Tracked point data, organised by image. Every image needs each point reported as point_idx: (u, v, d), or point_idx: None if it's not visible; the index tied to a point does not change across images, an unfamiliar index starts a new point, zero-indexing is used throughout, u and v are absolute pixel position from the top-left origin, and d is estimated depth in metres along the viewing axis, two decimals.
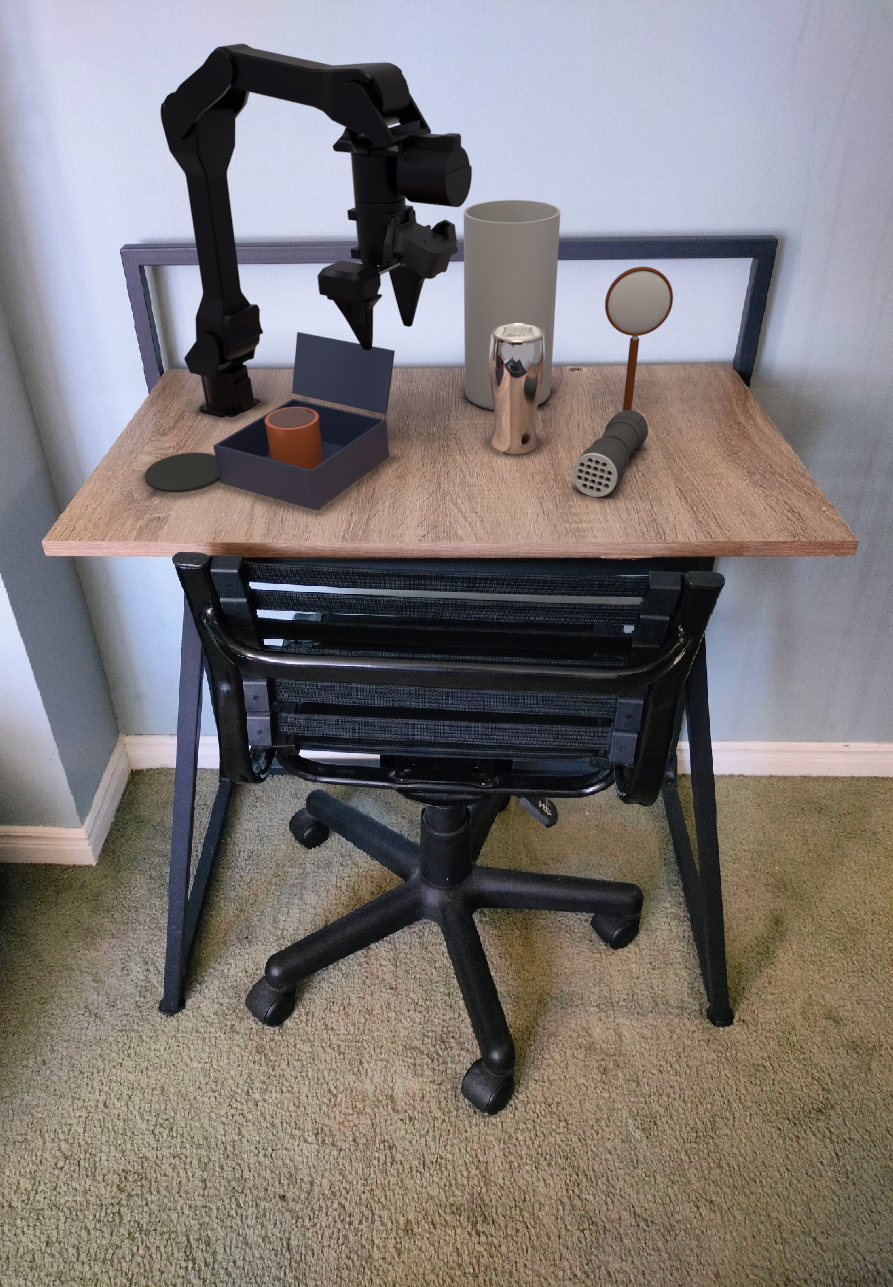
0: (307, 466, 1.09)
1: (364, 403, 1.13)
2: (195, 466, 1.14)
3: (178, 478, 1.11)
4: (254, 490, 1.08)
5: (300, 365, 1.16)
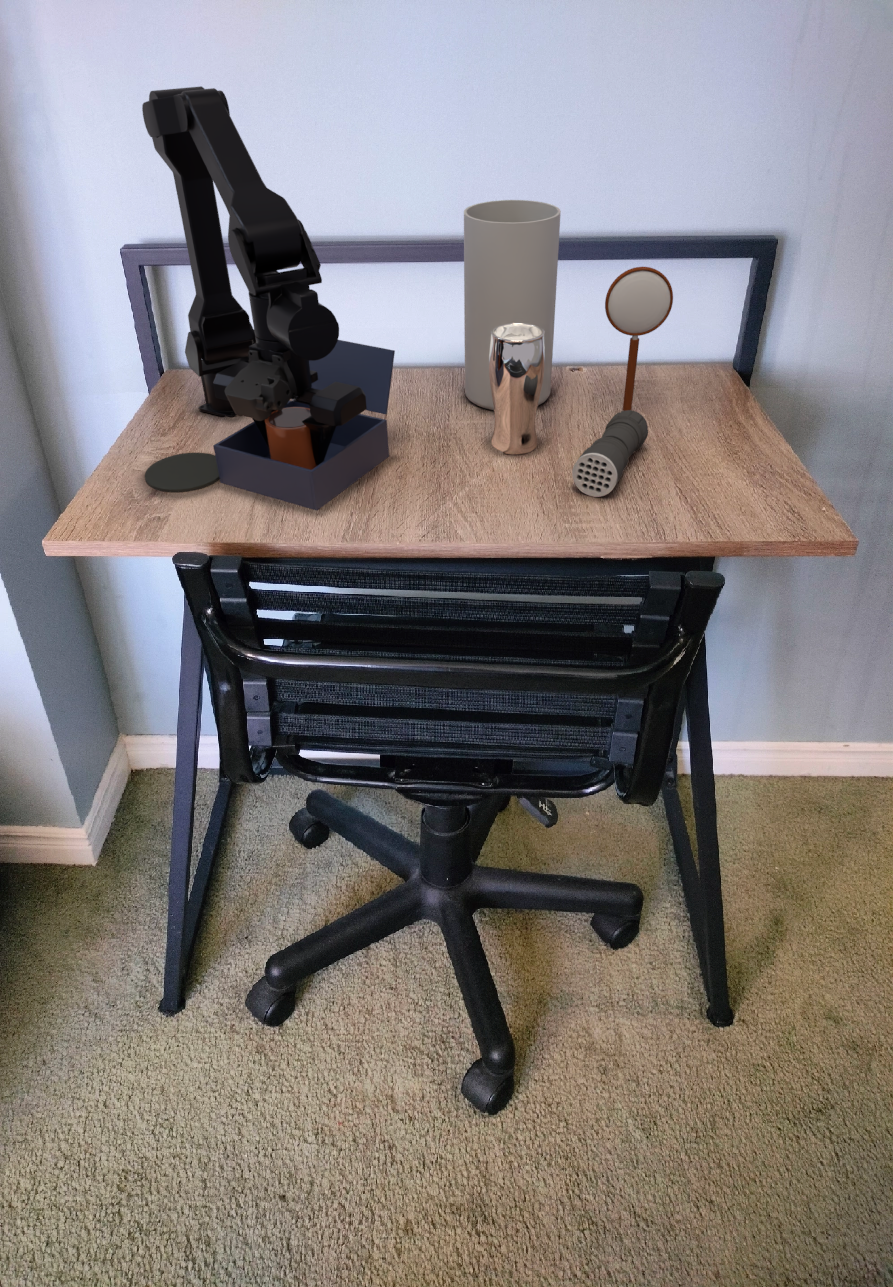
0: (307, 467, 1.09)
1: None
2: (195, 466, 1.14)
3: (178, 478, 1.11)
4: (254, 490, 1.08)
5: None
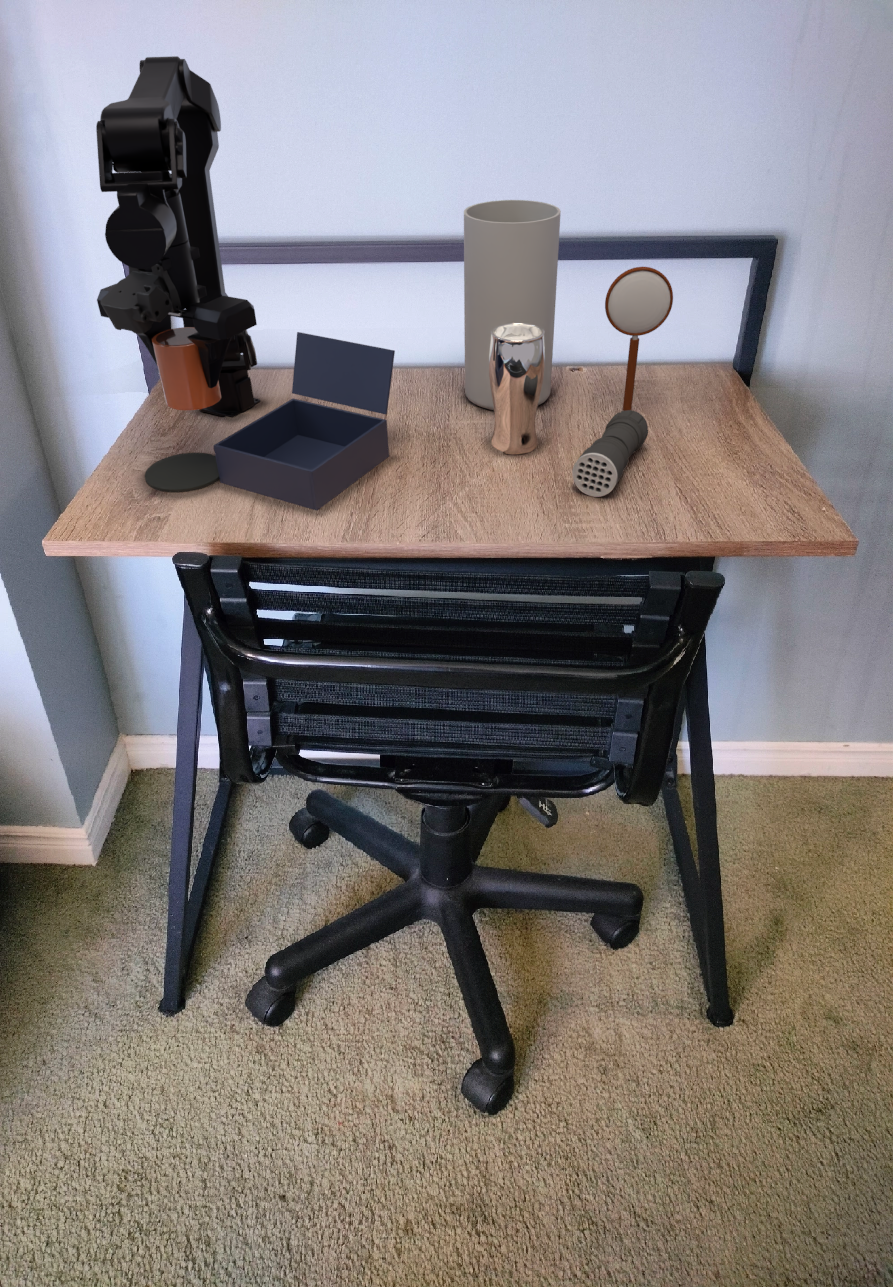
0: (198, 389, 1.03)
1: (364, 403, 1.13)
2: (195, 466, 1.14)
3: (178, 478, 1.11)
4: (254, 490, 1.08)
5: (300, 365, 1.16)
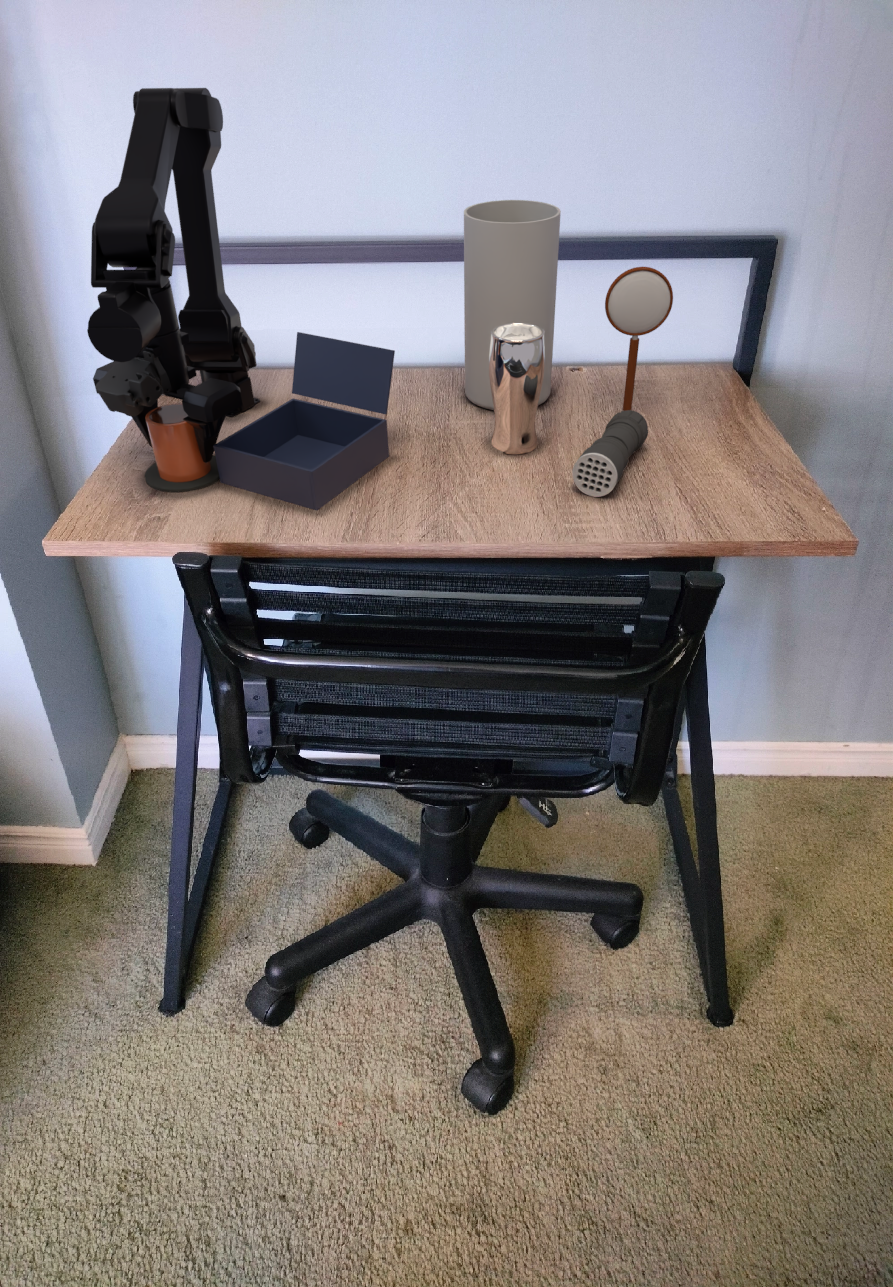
0: (189, 463, 1.09)
1: (364, 403, 1.13)
2: None
3: None
4: (254, 490, 1.08)
5: (300, 365, 1.16)
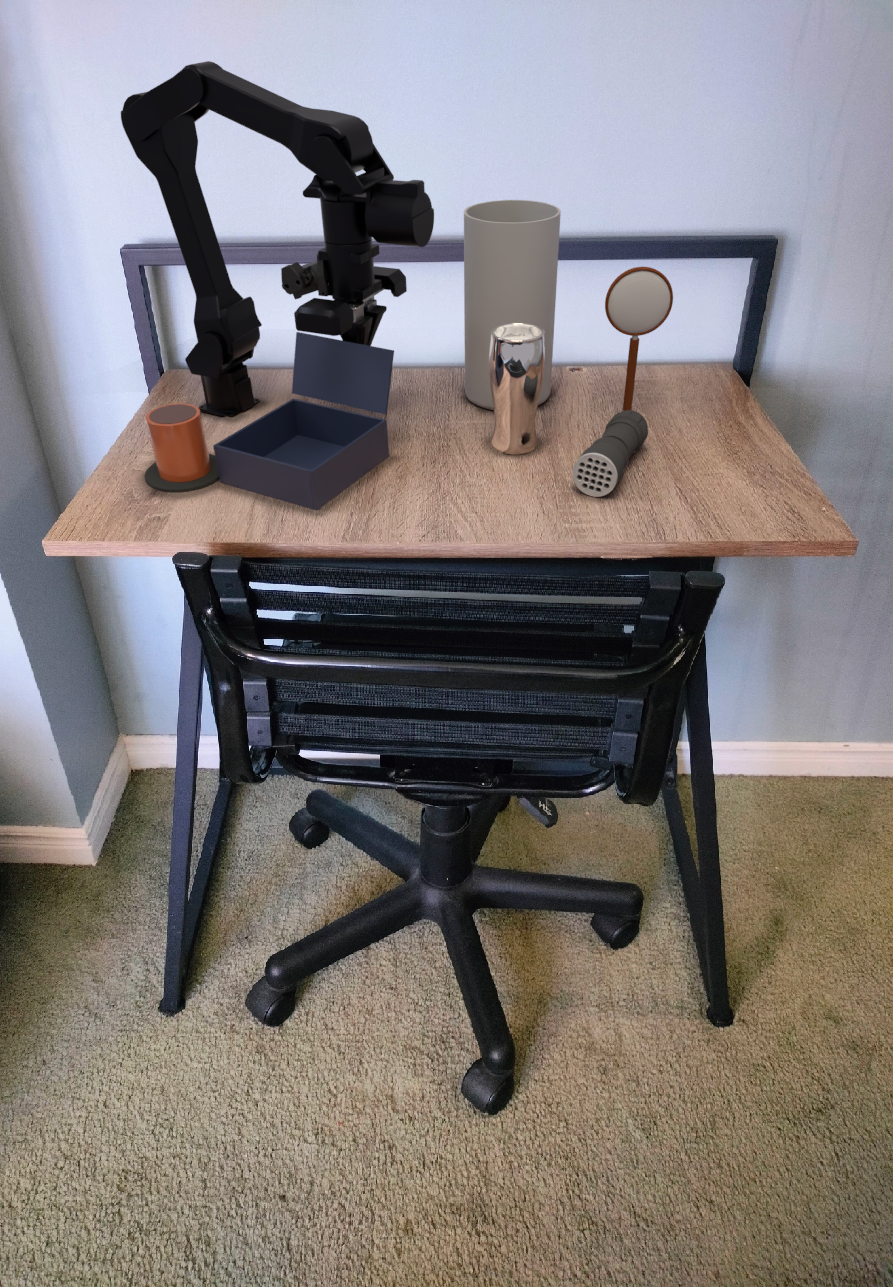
0: (189, 463, 1.09)
1: (364, 403, 1.13)
2: None
3: None
4: (254, 490, 1.08)
5: (300, 365, 1.16)
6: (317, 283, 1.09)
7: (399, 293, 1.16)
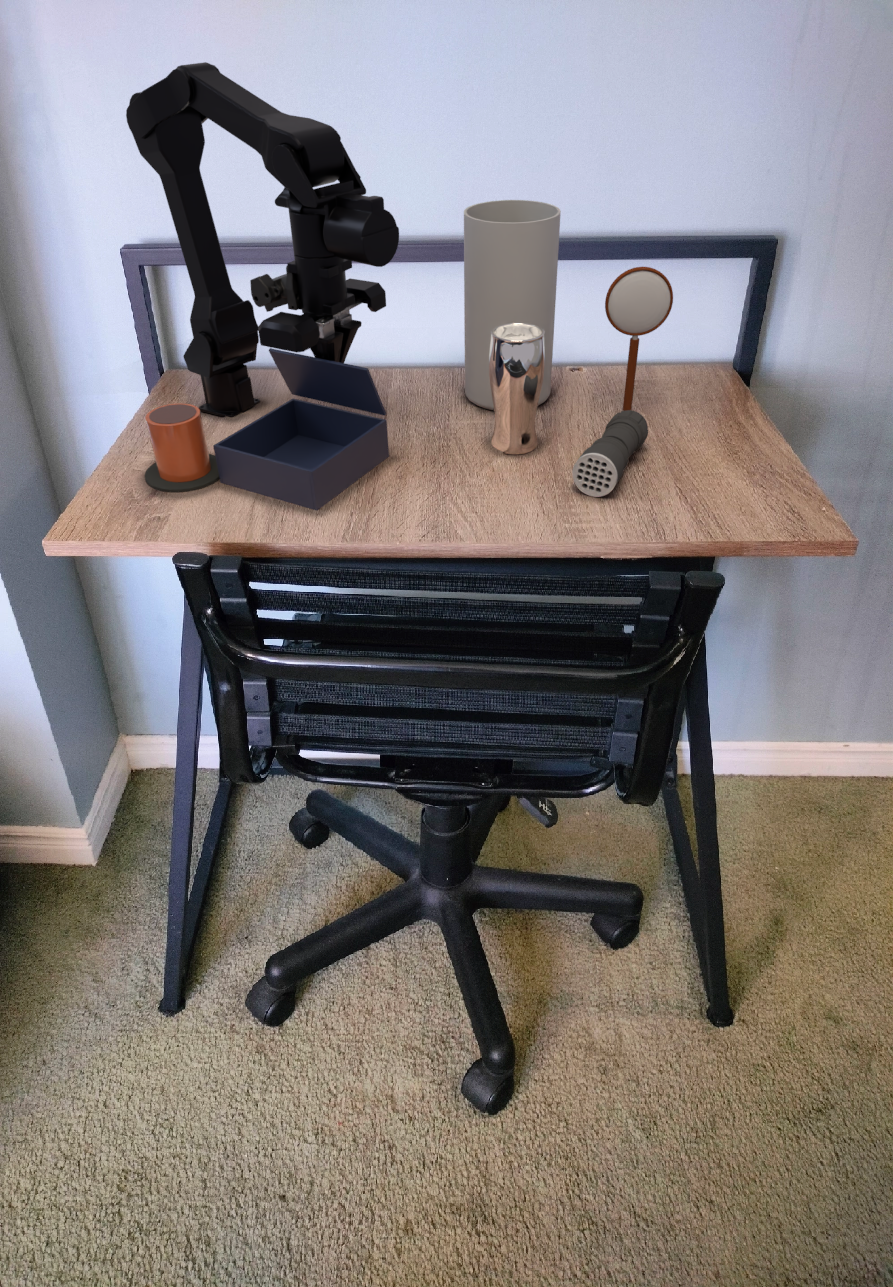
0: (189, 463, 1.09)
1: (361, 406, 1.13)
2: None
3: None
4: (254, 490, 1.08)
5: (287, 375, 1.14)
6: (286, 296, 1.05)
7: (377, 308, 1.11)
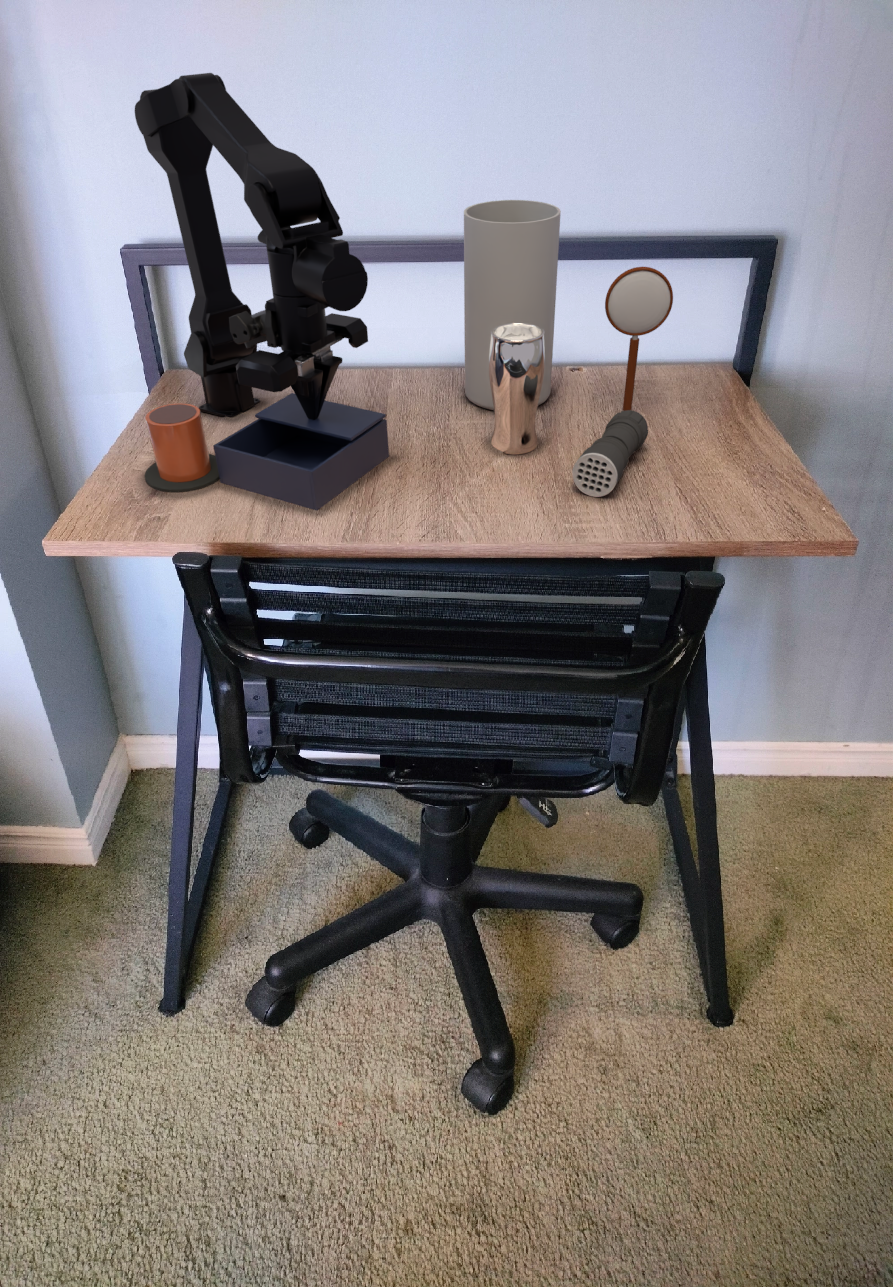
0: (189, 463, 1.09)
1: None
2: None
3: None
4: (254, 490, 1.08)
5: None
6: (266, 334, 1.04)
7: (358, 344, 1.10)
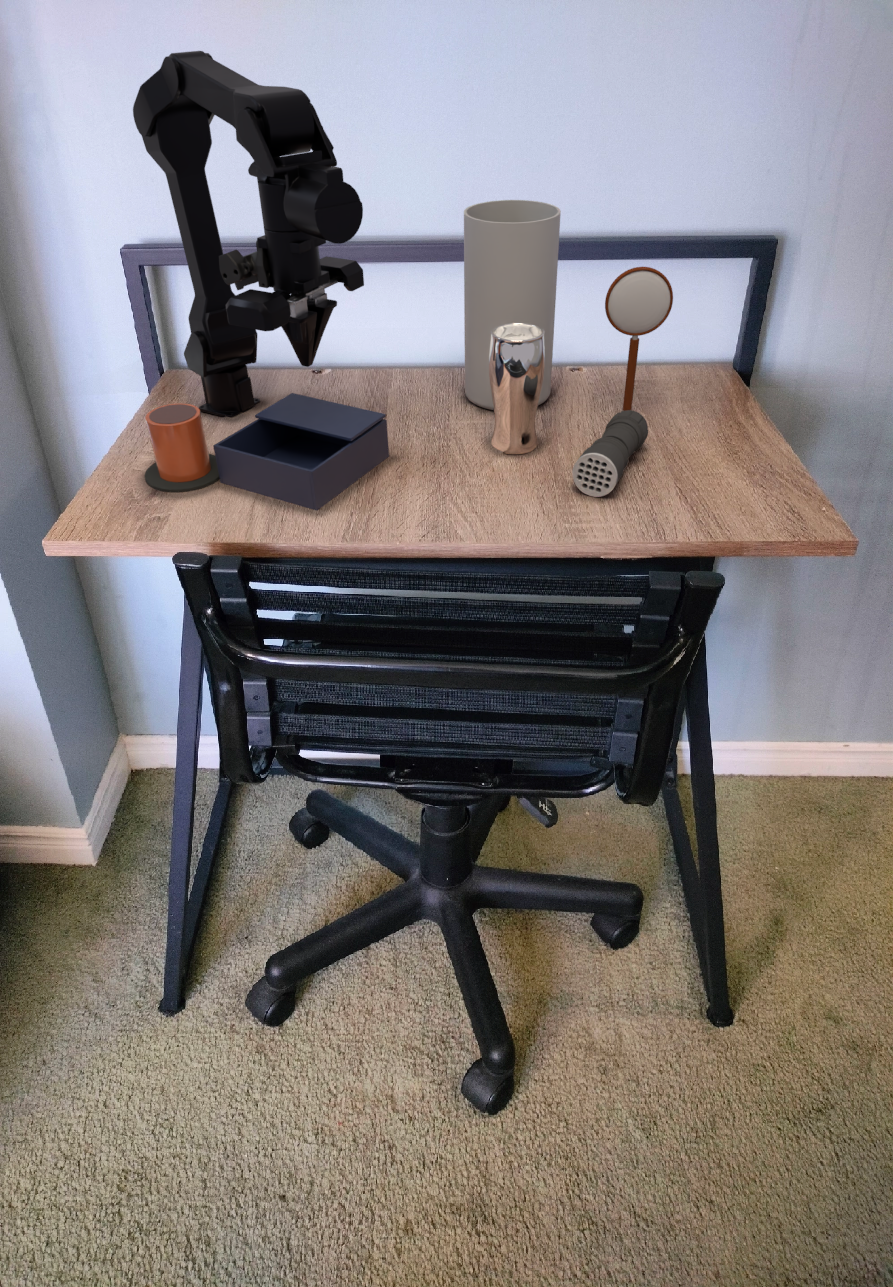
0: (189, 463, 1.09)
1: None
2: None
3: None
4: (254, 490, 1.08)
5: None
6: (257, 273, 1.00)
7: (354, 287, 1.06)
